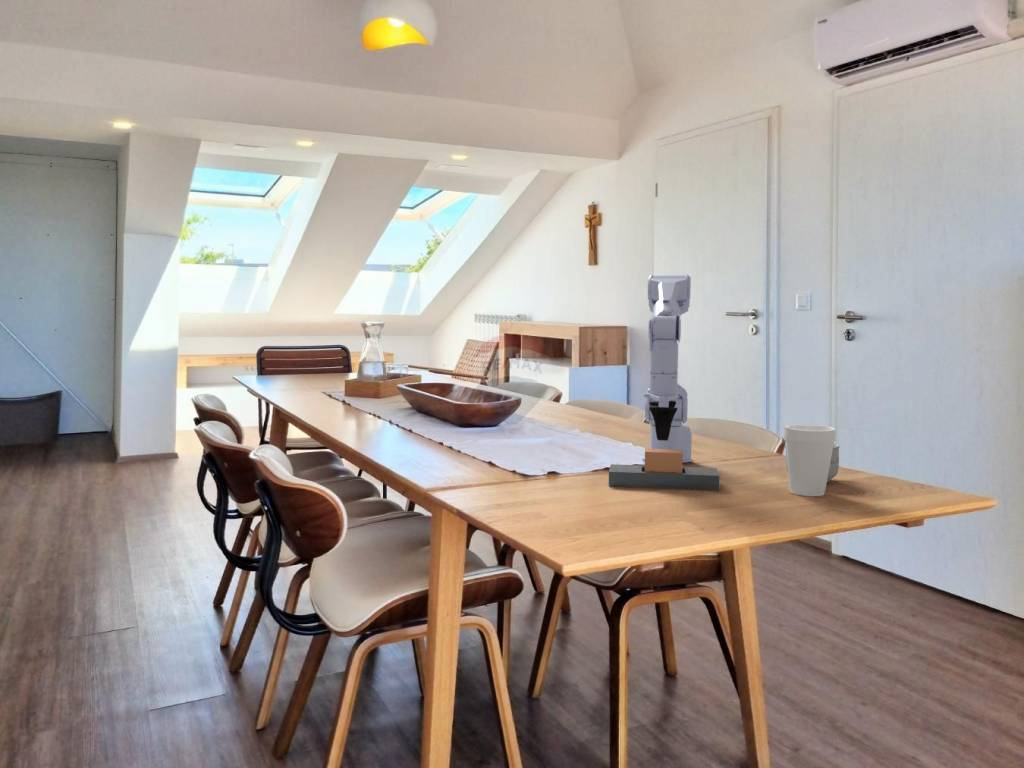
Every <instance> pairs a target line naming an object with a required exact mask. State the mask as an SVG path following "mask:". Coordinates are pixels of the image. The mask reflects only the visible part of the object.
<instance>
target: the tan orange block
mask: <svg viewBox="0 0 1024 768" xmlns="http://www.w3.org/2000/svg"><path fill="white" fill-rule="evenodd" d="M644 458H645V460H644V466H645V472H651V471H656V472H676V473H682V469H683V467H684V466H683V451H682V450H675V449H650V448H645V449H644Z"/></svg>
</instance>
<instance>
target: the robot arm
mask: <svg viewBox="0 0 1024 768" xmlns="http://www.w3.org/2000/svg"><path fill="white" fill-rule="evenodd" d="M691 279H692V278H691V276H690V275H689V274H686V275H685V274H684V275H681V274H680V275H673V274H672V275H671V274H670V275H665V274H664V275H654V274H650V275H649V276H648V278H647V300H648V307H649V310H650V311H649V312H650V313H652V317H649V319H648V328H647V329H648V335H647V336H648V342H649V352H650V354H649V356H650V358H649V388H647V390H646V392H643V397H644V398H645V401H644V419H645V421H646V422H647V423H649V425H650V433H649V434H650V436H649V437H650V438H649V439H650V443H649V449H675V450H682V451H683V463H691V462H692V463H693V462H694V459H693V458H692V444H693V443H692V442H693V441H692V439H693V438H692V437H693V436H692V431H691V429H690V426H688V425H687V424H686V423H687V422H688V408H689V407H688V406H689V405H688V402H689V399H688V392H687V390H686V389H685V388H684V387H683V386H682V385H680V384H679V383H678V377H679V376H678V372H679V370H678V369H679V366H678V365H679V343H680V342H681V341H680V340H681V339H682V338H681V336H682V335H681V332H682V319H681V316H682V315H684V314H685V313H687V312H689V308H690V303H691V301H690V300H691V286H692V285H691V284H692V283H691V282H692V281H691ZM641 460H643V461H645V457H641Z"/></svg>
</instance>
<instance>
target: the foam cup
mask: <svg viewBox="0 0 1024 768" xmlns="http://www.w3.org/2000/svg"><path fill="white" fill-rule="evenodd" d="M783 431H784V432H783V436H784V437H783V439H785V445H786V448H785V452H786V451H787V461H788V471H789V473H788V480H789V481H788V482H789V488H790V492H791V493H792V494H794V495H798V496H805V497H821V496H824V495H825V493H826V492H825V491H826V490H827V489H826V488H827V483H828V482H827V478H828V472H829V467H830V461H831V456H832V450H833V445H834V444H835V442H836V436H837V435H836V433H837V432H836V431H837V429H836V428H835V427H833V426H827V425H819V424H805V423H803V424H802V423H801V424H798V423H797V424H796V423H795V424H787V425H785V426H784V430H783ZM788 471H787V472H788Z"/></svg>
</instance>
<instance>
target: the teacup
mask: <svg viewBox="0 0 1024 768" xmlns="http://www.w3.org/2000/svg"><path fill="white" fill-rule="evenodd" d="M840 448H841V446H840V445H839V444H837V443H834V445H833V450H832V456H831V461H830V467H829V472H828V478H827V483H829V482H830V481H831V480H832V479H833V478H835V477H836V476H837V475H838V472H839V467H840V451H839V450H840ZM784 449H786V444H785V445H784ZM785 466H786V471H787V473H788V474H789V471H788V461H787V451H786V450H785Z"/></svg>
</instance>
